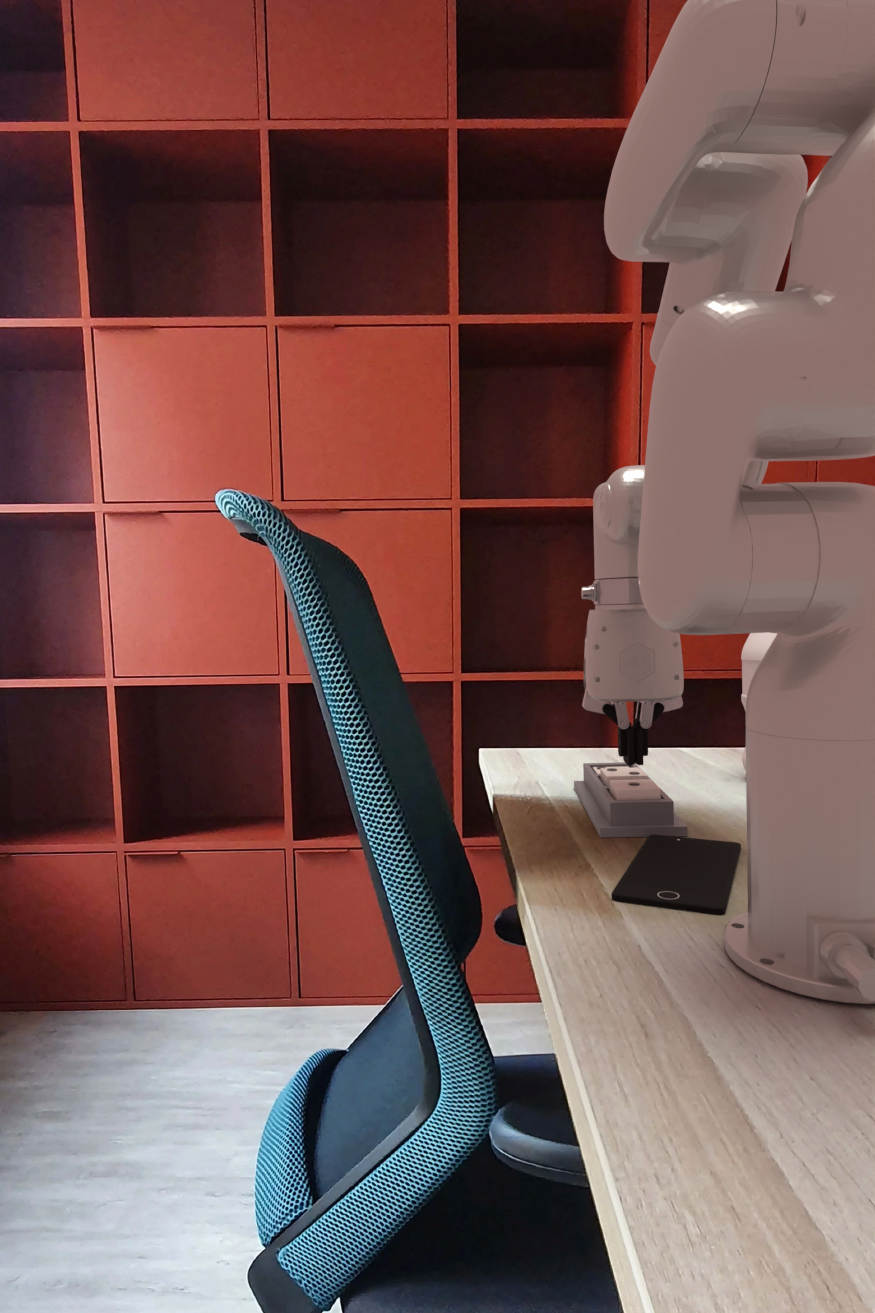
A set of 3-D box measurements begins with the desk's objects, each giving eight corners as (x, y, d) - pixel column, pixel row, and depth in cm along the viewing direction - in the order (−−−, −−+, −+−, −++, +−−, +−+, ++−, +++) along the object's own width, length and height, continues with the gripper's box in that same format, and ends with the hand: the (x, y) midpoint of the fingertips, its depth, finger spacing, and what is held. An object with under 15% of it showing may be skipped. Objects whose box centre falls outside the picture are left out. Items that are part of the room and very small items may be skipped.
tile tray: (687, 836, 79) (687, 802, 79) (600, 837, 80) (599, 804, 79) (642, 786, 101) (641, 760, 101) (574, 788, 102) (573, 762, 101)
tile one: (660, 807, 81) (660, 788, 81) (617, 808, 82) (616, 789, 81) (651, 796, 86) (650, 778, 86) (609, 797, 86) (609, 779, 86)
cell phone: (610, 905, 63) (610, 894, 63) (650, 842, 79) (649, 833, 79) (724, 921, 59) (724, 909, 59) (741, 851, 75) (741, 842, 75)
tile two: (647, 792, 88) (646, 774, 88) (607, 793, 88) (606, 775, 88) (638, 783, 92) (638, 766, 92) (600, 784, 93) (600, 767, 92)
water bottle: (789, 774, 105) (787, 593, 104) (809, 786, 98) (808, 592, 97) (735, 775, 106) (733, 595, 104) (751, 787, 99) (749, 594, 97)
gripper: (564, 597, 79) (568, 772, 80) (710, 592, 78) (712, 768, 79) (557, 598, 87) (561, 757, 88) (690, 593, 86) (692, 754, 87)
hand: (633, 762), depth 84 cm, fingers closed
